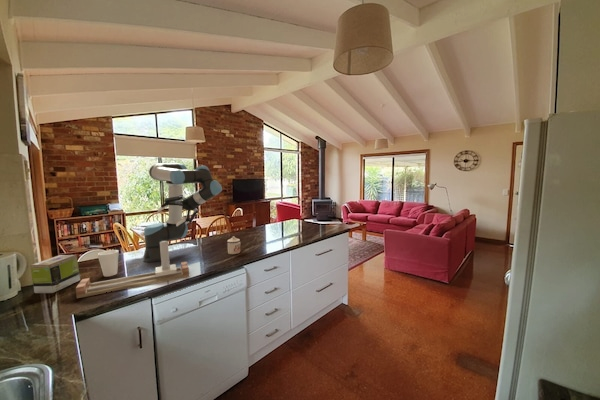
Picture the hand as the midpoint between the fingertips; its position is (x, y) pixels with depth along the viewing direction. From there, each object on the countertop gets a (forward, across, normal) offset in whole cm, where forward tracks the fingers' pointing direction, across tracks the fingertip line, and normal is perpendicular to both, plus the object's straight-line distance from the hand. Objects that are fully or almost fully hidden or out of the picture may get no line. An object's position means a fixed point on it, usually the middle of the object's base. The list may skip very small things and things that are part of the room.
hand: (167, 217), depth 148 cm
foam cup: (+44, +5, -13) cm, 46 cm away
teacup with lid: (-8, +54, +6) cm, 54 cm away
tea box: (+56, -10, -23) cm, 61 cm away
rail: (+22, +9, -28) cm, 37 cm away
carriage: (+11, +16, -24) cm, 31 cm away
